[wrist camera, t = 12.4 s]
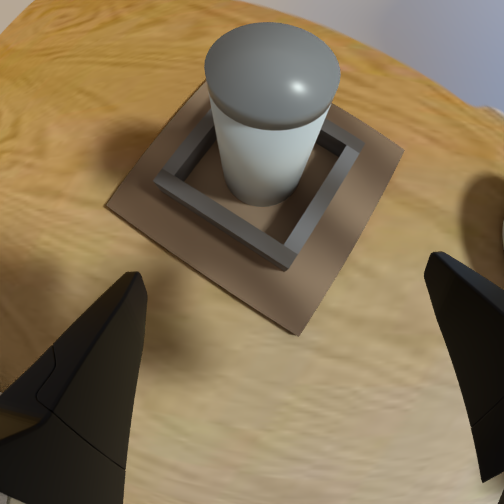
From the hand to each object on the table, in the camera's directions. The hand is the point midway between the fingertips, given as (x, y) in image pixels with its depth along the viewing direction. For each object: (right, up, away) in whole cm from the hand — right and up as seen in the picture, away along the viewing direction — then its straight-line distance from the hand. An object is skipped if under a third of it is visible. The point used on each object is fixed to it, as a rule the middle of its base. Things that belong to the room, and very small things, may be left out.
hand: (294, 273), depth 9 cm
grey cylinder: (-1, +6, +12) cm, 14 cm away
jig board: (-1, +6, +13) cm, 14 cm away
